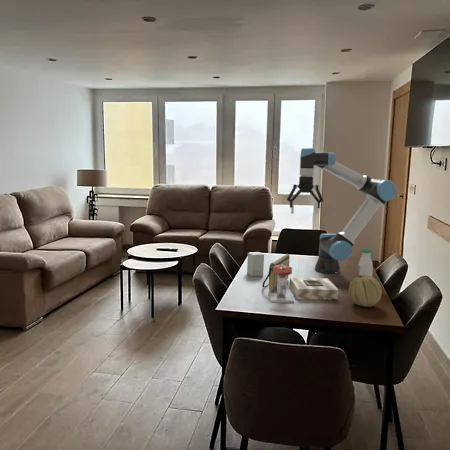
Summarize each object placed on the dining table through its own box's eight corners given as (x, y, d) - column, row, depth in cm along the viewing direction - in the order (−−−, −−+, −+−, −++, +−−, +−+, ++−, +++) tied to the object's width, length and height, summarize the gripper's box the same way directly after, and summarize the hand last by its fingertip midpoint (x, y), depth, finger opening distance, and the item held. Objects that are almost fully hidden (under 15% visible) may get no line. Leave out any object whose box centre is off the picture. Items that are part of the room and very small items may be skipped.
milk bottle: (373, 285, 237) (376, 249, 234) (367, 288, 231) (370, 251, 228) (360, 282, 242) (363, 247, 239) (353, 285, 236) (356, 249, 233)
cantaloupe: (387, 310, 197) (390, 278, 195) (359, 312, 193) (362, 280, 191) (367, 299, 211) (370, 270, 209) (341, 301, 207) (343, 271, 205)
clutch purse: (277, 277, 247) (278, 251, 244) (289, 279, 244) (290, 253, 241) (259, 291, 220) (260, 262, 218) (272, 293, 217) (273, 264, 215)
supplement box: (263, 275, 249) (264, 254, 247) (251, 276, 246) (252, 255, 244) (258, 272, 256) (258, 251, 254) (246, 273, 253) (247, 252, 251)
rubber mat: (289, 295, 214) (289, 293, 214) (294, 302, 204) (294, 300, 203) (267, 294, 214) (267, 292, 214) (270, 302, 203) (270, 300, 203)
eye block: (326, 287, 230) (327, 277, 229) (337, 299, 210) (338, 288, 209) (289, 286, 229) (290, 276, 228) (296, 298, 209) (297, 287, 208)
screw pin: (270, 293, 213) (272, 263, 211) (288, 293, 213) (290, 264, 211) (273, 299, 204) (274, 268, 202) (291, 299, 204) (293, 268, 202)
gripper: (285, 175, 237) (283, 214, 240) (330, 176, 238) (327, 215, 241) (282, 175, 244) (281, 212, 247) (326, 176, 245) (324, 213, 248)
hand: (304, 213), depth 244 cm, fingers open, 13 cm apart
